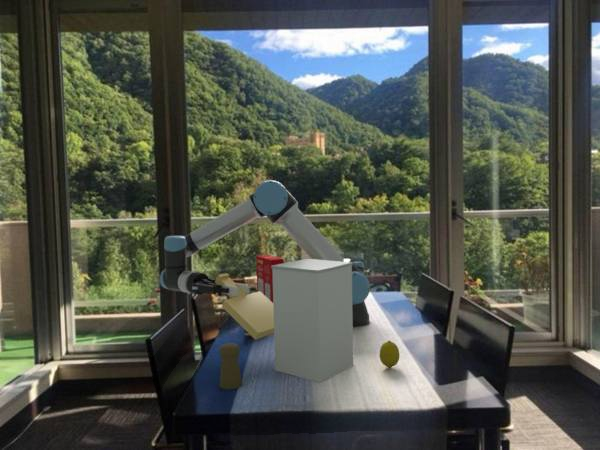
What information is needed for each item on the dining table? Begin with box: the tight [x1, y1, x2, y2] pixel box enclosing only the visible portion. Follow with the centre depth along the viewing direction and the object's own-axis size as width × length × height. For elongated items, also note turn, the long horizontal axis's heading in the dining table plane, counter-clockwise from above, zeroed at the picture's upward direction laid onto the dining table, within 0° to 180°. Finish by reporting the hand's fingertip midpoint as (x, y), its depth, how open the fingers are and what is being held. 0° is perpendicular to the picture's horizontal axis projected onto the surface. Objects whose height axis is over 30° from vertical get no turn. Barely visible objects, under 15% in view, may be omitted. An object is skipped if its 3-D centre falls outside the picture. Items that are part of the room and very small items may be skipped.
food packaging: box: [255, 254, 285, 303], centre depth 204 cm, size 15×5×25 cm, turn 26°
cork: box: [219, 342, 243, 390], centre depth 139 cm, size 6×6×11 cm
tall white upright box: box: [271, 258, 354, 383], centre depth 150 cm, size 16×16×30 cm
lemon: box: [379, 340, 400, 369], centre depth 149 cm, size 6×6×8 cm
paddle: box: [215, 273, 274, 340], centre depth 166 cm, size 27×16×3 cm
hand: (242, 290), depth 167 cm, fingers closed on paddle, 4 cm apart
